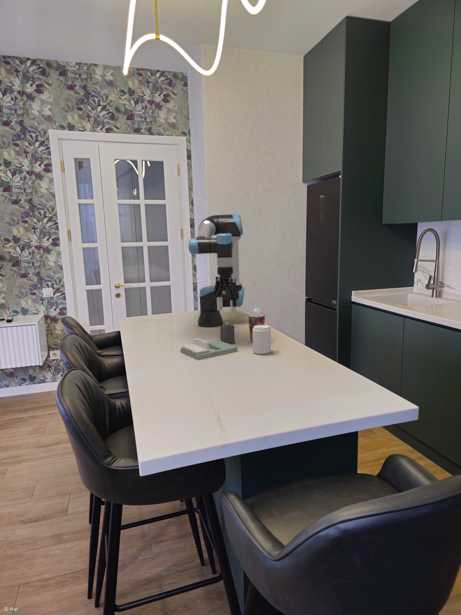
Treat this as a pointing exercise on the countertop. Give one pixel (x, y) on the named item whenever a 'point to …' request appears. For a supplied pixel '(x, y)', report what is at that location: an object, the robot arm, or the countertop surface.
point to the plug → (227, 333)
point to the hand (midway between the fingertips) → (226, 311)
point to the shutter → (198, 346)
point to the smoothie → (255, 319)
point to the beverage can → (261, 339)
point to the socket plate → (218, 350)
